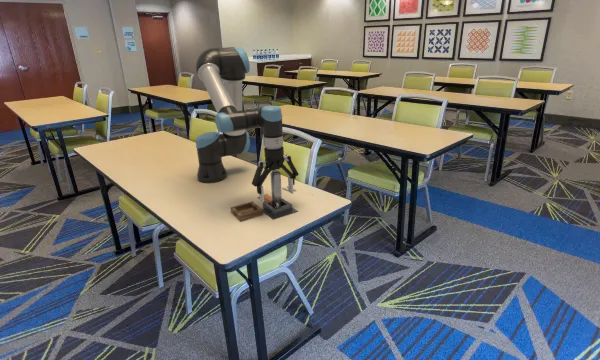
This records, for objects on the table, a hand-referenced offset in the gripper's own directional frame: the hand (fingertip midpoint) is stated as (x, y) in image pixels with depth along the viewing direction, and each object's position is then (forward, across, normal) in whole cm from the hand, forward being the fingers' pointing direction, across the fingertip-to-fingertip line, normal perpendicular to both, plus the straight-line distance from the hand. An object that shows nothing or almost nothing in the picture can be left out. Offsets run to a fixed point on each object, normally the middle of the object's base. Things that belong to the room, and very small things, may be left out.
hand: (276, 196), depth 146 cm
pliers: (+7, +15, +10) cm, 20 cm away
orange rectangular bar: (+6, 0, +7) cm, 10 cm away
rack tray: (+6, -12, +4) cm, 14 cm away
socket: (+6, 0, +5) cm, 8 cm away
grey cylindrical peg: (+6, 0, 0) cm, 6 cm away
